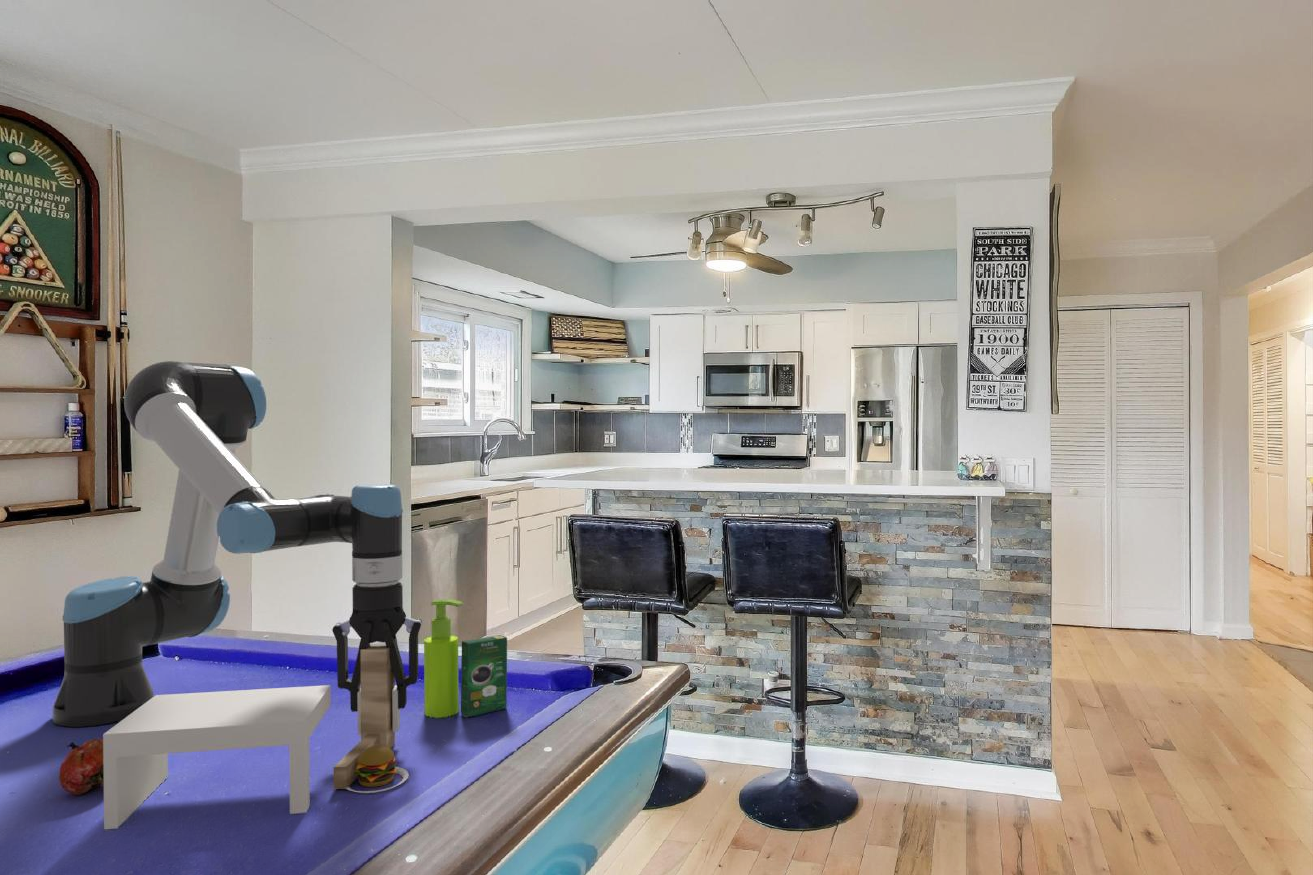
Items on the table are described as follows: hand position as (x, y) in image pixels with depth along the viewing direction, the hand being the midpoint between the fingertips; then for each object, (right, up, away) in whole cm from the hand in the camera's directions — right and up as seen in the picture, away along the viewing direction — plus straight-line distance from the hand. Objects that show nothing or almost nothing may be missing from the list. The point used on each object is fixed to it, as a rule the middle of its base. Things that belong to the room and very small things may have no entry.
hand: (379, 729), depth 132 cm
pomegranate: (-35, -3, -15) cm, 38 cm away
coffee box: (+13, -3, +17) cm, 21 cm away
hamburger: (+4, -4, -13) cm, 14 cm away
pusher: (0, -3, -7) cm, 8 cm away
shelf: (-15, -3, -17) cm, 23 cm away
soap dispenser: (+6, -3, +16) cm, 18 cm away
